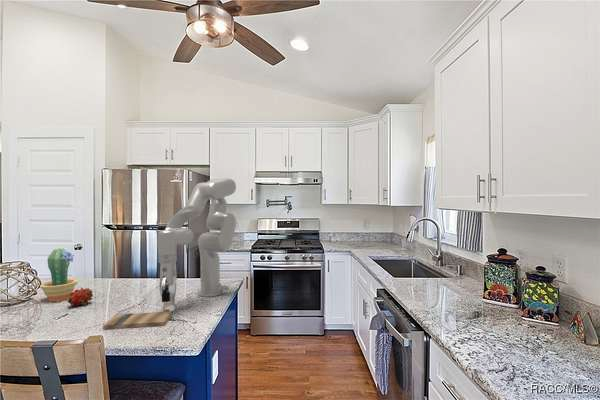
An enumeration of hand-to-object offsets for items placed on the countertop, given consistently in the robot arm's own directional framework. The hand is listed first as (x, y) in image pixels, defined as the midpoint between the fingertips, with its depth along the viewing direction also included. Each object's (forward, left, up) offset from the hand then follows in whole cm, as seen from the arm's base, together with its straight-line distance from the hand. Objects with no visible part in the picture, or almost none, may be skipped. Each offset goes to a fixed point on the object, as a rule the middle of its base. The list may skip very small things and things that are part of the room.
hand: (168, 298), depth 143 cm
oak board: (+8, +12, -5) cm, 15 cm away
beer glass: (0, 0, -5) cm, 5 cm away
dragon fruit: (+43, -15, -5) cm, 46 cm away
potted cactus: (+59, -28, -5) cm, 65 cm away
